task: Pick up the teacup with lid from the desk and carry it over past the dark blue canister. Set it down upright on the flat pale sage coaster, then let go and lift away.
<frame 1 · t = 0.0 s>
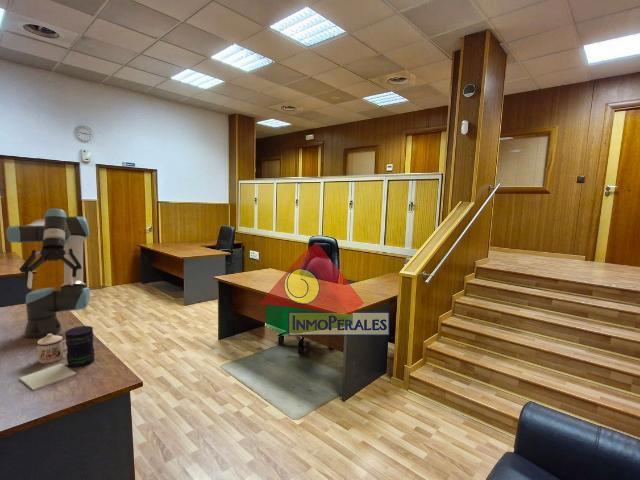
hand: (50, 285, 135), 36 cm above the table, tool tilted 35°, fingers open, 13 cm apart
dark blue canister: (81, 363, 144), on the table
teacup with lid: (55, 358, 147), on the table
coaster: (48, 376, 132), on the table
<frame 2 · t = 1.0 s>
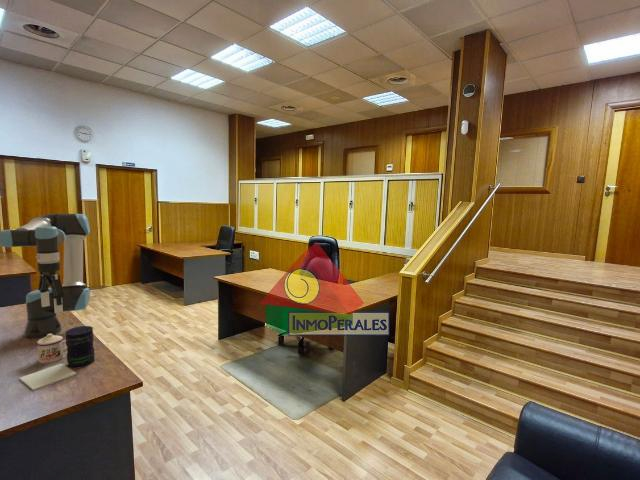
hand: (52, 309, 144), 23 cm above the table, tool pointing down, fingers open, 13 cm apart
nothing on the table moved.
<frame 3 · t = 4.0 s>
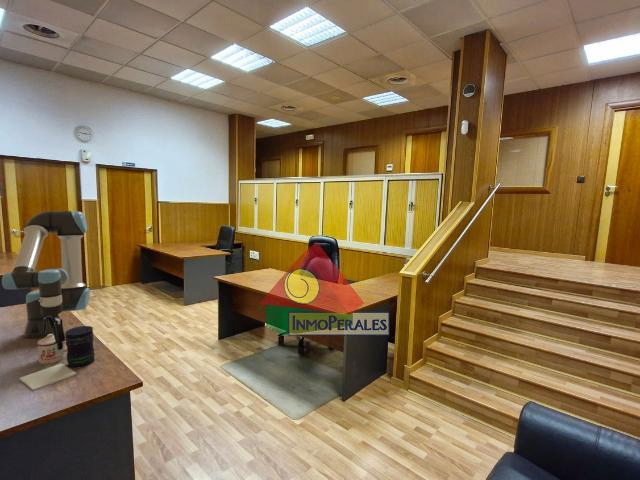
hand: (55, 352, 147), 2 cm above the table, tool pointing down, fingers closed on teacup with lid, 9 cm apart
teacup with lid: (56, 358, 147), on the table, touching gripper
everything else where it was.
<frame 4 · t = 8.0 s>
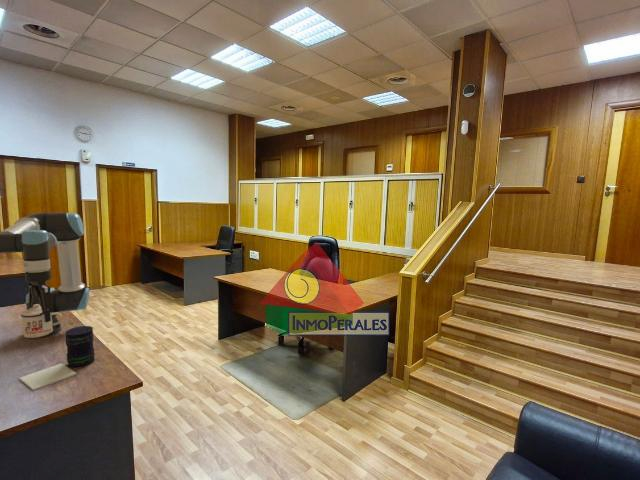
hand: (42, 326, 128), 22 cm above the table, tool pointing down, fingers closed on teacup with lid, 9 cm apart
teacup with lid: (43, 333, 128), point 19 cm above the table, touching gripper
everything else where it was.
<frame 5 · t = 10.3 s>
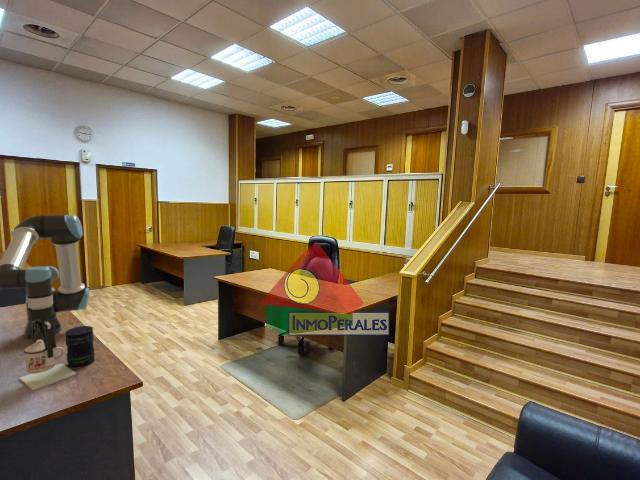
hand: (45, 361, 130), 7 cm above the table, tool pointing down, fingers closed on teacup with lid, 9 cm apart
teacup with lid: (46, 367, 130), point 5 cm above the table, touching gripper
everything else where it was.
when the fingers open (4 cm above the table, at t = 12.0 s): teacup with lid drops 1 cm, resting on coaster.
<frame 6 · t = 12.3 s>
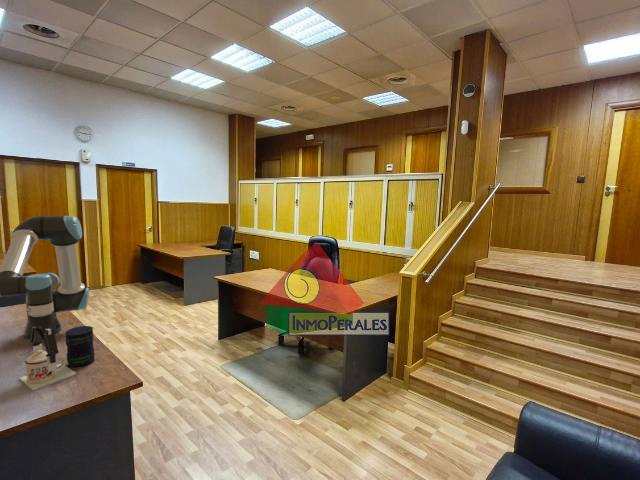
hand: (45, 365, 130), 6 cm above the table, tool pointing down, fingers open, 13 cm apart
teacup with lid: (46, 377, 131), resting on coaster
everything else where it was.
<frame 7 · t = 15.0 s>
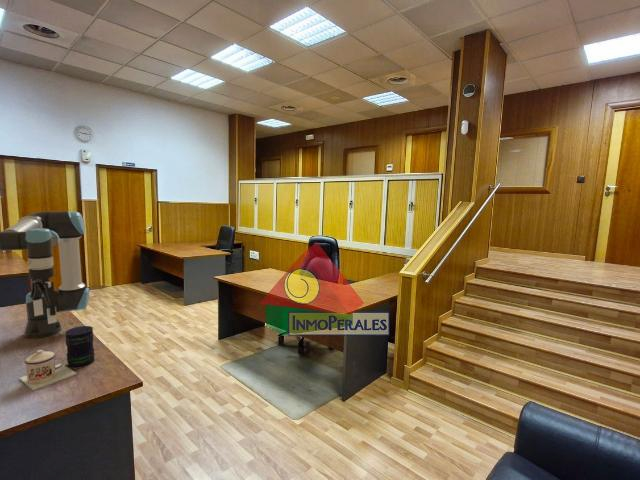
hand: (45, 318, 132), 23 cm above the table, tool pointing down, fingers open, 13 cm apart
nothing on the table moved.
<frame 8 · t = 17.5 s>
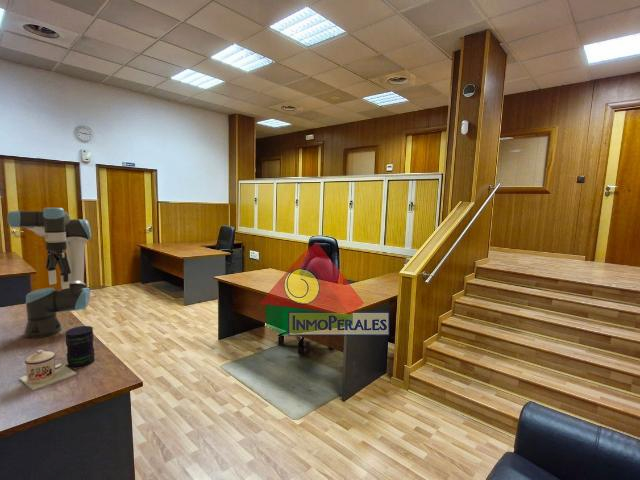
hand: (59, 286, 153), 31 cm above the table, tool pointing down, fingers open, 13 cm apart
nothing on the table moved.
at the end: teacup with lid inside the target area on the coaster (1.4 cm from its centre), point 0.4 cm above the coaster's base; teacup with lid tilted 0°; the gripper is holding nothing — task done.
